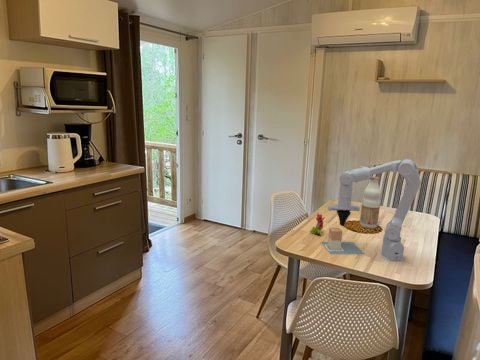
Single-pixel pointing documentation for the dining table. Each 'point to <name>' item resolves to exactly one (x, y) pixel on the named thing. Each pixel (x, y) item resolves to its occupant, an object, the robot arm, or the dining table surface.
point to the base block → (334, 244)
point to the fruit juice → (371, 204)
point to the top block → (335, 234)
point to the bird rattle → (318, 225)
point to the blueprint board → (344, 248)
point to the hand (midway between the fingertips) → (342, 225)
